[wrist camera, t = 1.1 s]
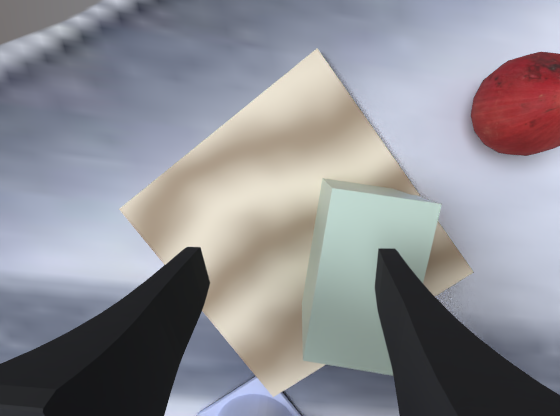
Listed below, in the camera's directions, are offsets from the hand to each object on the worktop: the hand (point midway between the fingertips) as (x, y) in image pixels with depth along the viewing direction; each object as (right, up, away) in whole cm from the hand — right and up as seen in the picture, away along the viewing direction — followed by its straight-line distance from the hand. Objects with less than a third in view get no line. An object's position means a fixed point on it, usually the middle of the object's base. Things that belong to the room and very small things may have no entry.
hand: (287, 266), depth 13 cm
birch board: (+1, 0, +12) cm, 12 cm away
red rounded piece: (+15, +9, +10) cm, 20 cm away
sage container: (+5, -1, +11) cm, 12 cm away
